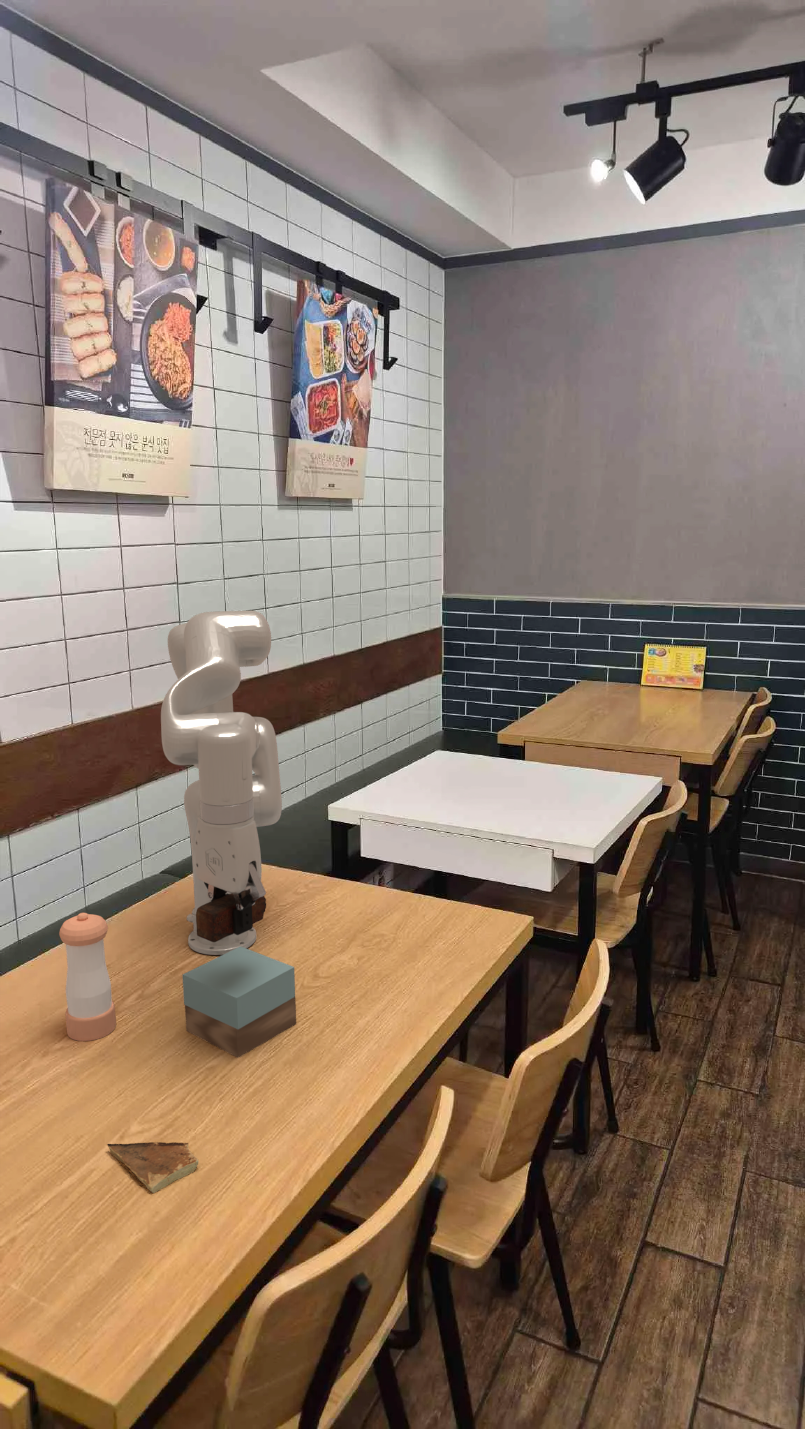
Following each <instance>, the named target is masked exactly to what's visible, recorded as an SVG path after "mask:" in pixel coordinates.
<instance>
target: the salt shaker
mask: <svg viewBox="0 0 805 1429" xmlns="http://www.w3.org/2000/svg"><path fill="white" fill-rule="evenodd" d="M108 930H109V927H108V924H107V921H106V920H105V919H104V917H102V916H101V915H97V914H93V913H92V914H89V913H87V912H80V913H79V914H78V915H75V916H73V917H71V918H69V919H66V920H65V921H64V922H63V923H62V925H61V927H60V929H59V933H58V934H59V937H60V940H61V941H62V943H63V944H65V951H66V963H67V971H66V979H65V980H66V981H65V982H66V983H65V995H66V996H65V997H66V1005H67V1008H66V1010H65V1014H64V1015H65V1022H66V1024H65V1025H66V1033H67V1037H69V1038H70V1039H72V1040H74V1041H79V1042H88V1041H89V1042H90V1041H94V1040H98V1039H101V1038H104V1037H106V1036H108V1035H109V1034H111V1033H113V1031H114V1030H115V1029H116V1026H117V1021H116V1020H117V1019H116V1007H115V1002H114V1001H113V1000H112V998H113V997H112V983H111V979H110V975H109V971H108V968H107V964H106V954H105V943H104V938H106V936H107V934H108Z"/></svg>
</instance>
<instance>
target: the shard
mask: <svg viewBox="0 0 805 1429" xmlns="http://www.w3.org/2000/svg"><path fill="white" fill-rule="evenodd" d="M106 1145H107V1147H108V1149H109V1153H110V1154H111V1155H112V1156H113V1157H115V1158H116V1159H117V1160H118V1161H120V1162H121V1163H122V1164H124V1165H125V1166H126V1167H127V1168H128V1169H129V1170H130V1171H131V1172H132V1173H133V1174H134V1175H135V1176H136V1177H137V1179H138V1180H139V1181H140V1182H141V1183H142V1184H143V1185H145V1187H146V1189H147V1190H148V1191H150V1192H151V1193H152V1194H155V1193H156V1192H158V1191H160V1190H162V1189H164V1188H166V1187H167V1186H168V1185H171V1184H172V1183H173V1182H175V1181H178V1180H180V1179H182V1178H184V1177H186V1176H188V1175H190V1174H191V1173H193V1172H195V1171H196V1169H197V1167H198V1165H199V1159H198V1157H197V1156H196V1155H194V1153H192V1152H191V1150H190V1148H189V1142H177V1141H176V1142H174V1141H173V1142H164V1141H163V1142H162V1141H161V1142H158V1141H157V1142H156V1141H155V1142H153V1141H151V1142H133V1143H107V1144H106Z"/></svg>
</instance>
